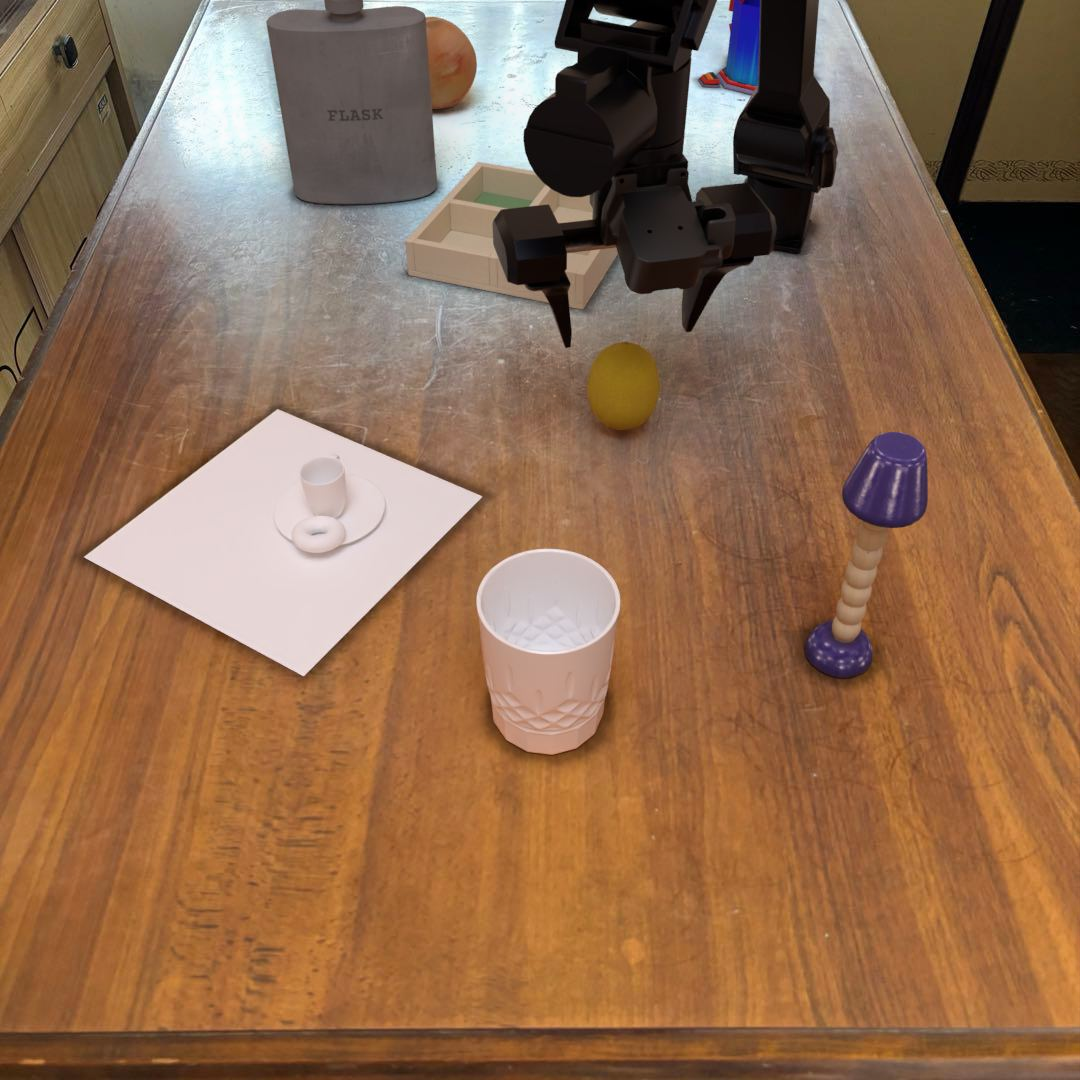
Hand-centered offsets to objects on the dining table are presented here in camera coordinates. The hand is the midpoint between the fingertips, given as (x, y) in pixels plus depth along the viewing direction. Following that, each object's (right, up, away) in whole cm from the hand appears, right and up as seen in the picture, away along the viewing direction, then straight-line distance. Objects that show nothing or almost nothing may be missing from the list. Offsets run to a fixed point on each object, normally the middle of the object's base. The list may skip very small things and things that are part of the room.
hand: (627, 337), depth 81 cm
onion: (-19, +37, +51) cm, 65 cm away
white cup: (-6, -25, -14) cm, 30 cm away
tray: (-8, +14, +26) cm, 31 cm away
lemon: (0, -6, +6) cm, 9 cm away
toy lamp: (+13, -22, -10) cm, 28 cm away
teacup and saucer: (-24, -14, -2) cm, 28 cm away
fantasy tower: (+20, +42, +57) cm, 74 cm away
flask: (-25, +21, +35) cm, 48 cm away
